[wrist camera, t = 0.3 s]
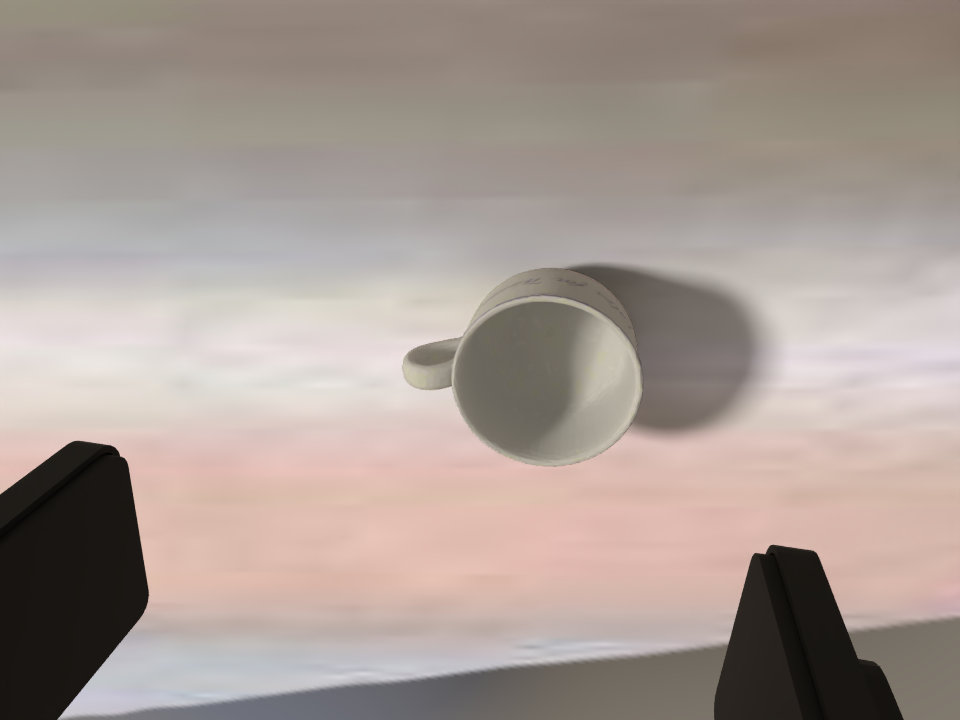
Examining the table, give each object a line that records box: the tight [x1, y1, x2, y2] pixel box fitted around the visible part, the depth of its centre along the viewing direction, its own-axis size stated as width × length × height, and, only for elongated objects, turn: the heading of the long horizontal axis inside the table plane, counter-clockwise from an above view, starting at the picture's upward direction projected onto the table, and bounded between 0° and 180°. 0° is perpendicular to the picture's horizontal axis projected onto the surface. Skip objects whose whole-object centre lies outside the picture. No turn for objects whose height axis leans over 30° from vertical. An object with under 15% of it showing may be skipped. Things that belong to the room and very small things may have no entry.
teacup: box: [402, 268, 643, 467], centre depth 45 cm, size 14×11×8 cm
